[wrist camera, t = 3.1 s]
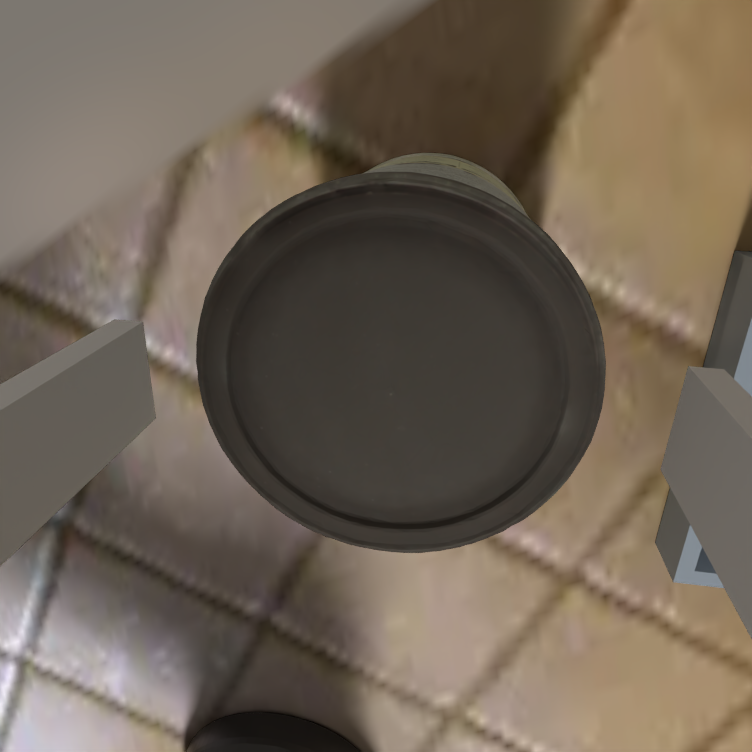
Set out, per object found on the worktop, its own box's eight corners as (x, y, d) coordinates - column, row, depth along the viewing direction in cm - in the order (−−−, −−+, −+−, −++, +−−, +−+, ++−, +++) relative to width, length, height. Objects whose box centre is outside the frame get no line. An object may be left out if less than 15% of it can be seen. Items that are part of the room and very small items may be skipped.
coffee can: (578, 305, 27) (678, 465, 14) (390, 402, 31) (335, 602, 18) (469, 98, 25) (473, 69, 12) (276, 228, 28) (114, 316, 15)
